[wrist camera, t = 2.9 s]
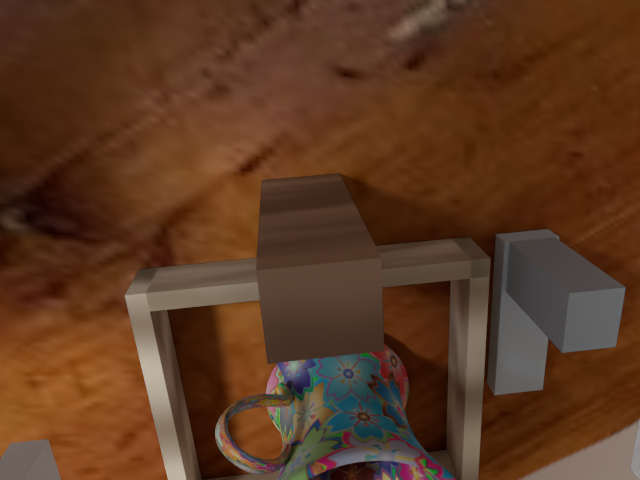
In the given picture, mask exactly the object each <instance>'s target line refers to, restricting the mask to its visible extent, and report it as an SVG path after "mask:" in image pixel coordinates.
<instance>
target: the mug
mask: <svg viewBox="0 0 640 480" xmlns="http://www.w3.org/2000/svg"><path fill="white" fill-rule="evenodd" d="M408 395H409V380H408V375H407V372H406V369H405V367H404V365H403V363H402V361H401V360H400V358H399V357H398V356H397V354H396V353H395V352H394V351H393V350H392V349H391V348H390V347H388V346H387V345H386V344H384V351H379V352H370V353H361V354H352V355H343V356H334V357H325V358H316V359H307V360H298V361H289V362H280V363H277V364H276V366H275V367H274V369H273V371H272V373H271V375H270V378H269V381H268V384H267V389H266V394H259V395H253V396H249V397H246V398H243V399H241V400H239V401H237V402H235V403H234V404H232V405H231V406H230V407H228V408H227V409H226V410H225V412H224V413H223V414H222V416H221V417H220V418H219V420H218V422H217V425H216V429H215V438H216V442H217V445H218V447H219V449H220V451H221V452H222V453H223V455H224V456H225V457H226V458H227V459H228V460H229V461H230V462H231V463H233V464H234V465H235V466H237V467H239V468H240V469H242V470H244V471H247V472H250V473H253V474H260V475H261V474H270V473H274V472H276V471H277V470H279V469H280V468H281V469H280V472H279V476H278V479H277V480H456V478H455V477H454V476H453V475H452V474H451V473H450V472H448V471H447V470H446V469H445V468H444V467H442V466H441V465H440V464H438V463H437V462H436V461H435V460H434V459H433V458H432V457H431V456H430V455H429V454H428V453H427V452H426V451H425V450H424V448H423V447H422V446H421V445H420V443H419V442H418V440H417V439H416V437H415V436H414V434H413V432H412V430H411V428H410V426H409V423H408V420H407V417H406V411H405V407H406V404H407V401H408ZM255 407H267V409H268V412H269V415H270V417H271V419H272V421H273V423H274V425H275V426H276V428H277V429H278V430H279V431H280V433H281V436H282V442H283V449H282V452H281V454H280V456H279V457H278V458H275V459H261V458H257V457H254V456H252V455H250V454H248V453H247V452H245V451H244V450H242V449H241V448H240V447H239V446H238V445H237V444H236V443H235V442H234V441H233V439H232V438H231V436H230V434H229V431H228V421H229V420H230V418H232V417H233V416H234V415H236V414H237V413H239V412H241V411H244V410H247V409H250V408H255Z"/></svg>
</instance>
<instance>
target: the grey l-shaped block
mask: <svg viewBox="0 0 640 480" xmlns="http://www.w3.org/2000/svg"><path fill="white" fill-rule="evenodd" d="M625 289H626V287H624V286H623V285H622V284H620V283H619V282H617V281H616V280H615V279H613V278H612V277H610V276H609V275H608V274H606V273H605V272H603V271H602V270H600V269H599V268H598V267H596V266H595V265H593V264H592V263H591V262H589V261H588V260H586V259H585V258H584V257H582V256H581V255H579V254H578V253H576V252H575V251H574V250H572V249H571V248H569V247H568V246H567V245H565V244H564V243H562V242H561V241H560V240H559V236H558V235H556V234H555V233H553V232H552V231H550V230H549V229H544V230H534V231H523V232H513V233H503V234H496V240H495V257H494V274H493V290H492V307H491V324H490V341H489V358H488V374H487V384H488V385H489V387H490V389H491V390H492V392H493V394H494V395H502V394H510V393H519V392H528V391H536V390H543V383H544V374H545V365H546V356H547V347H548V338H549V339H550V340H551V341H552V343H553V344H554V345H555V346H556V347H557V348H558V349H559V350H560V351H561V352H562V353H567V352H575V351H584V350H593V349H602V348H611V347H616V343H617V337H618V331H619V325H620V319H621V313H622V307H623V301H624V295H625Z"/></svg>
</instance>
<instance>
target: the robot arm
mask: <svg viewBox="0 0 640 480" xmlns="http://www.w3.org/2000/svg"><path fill="white" fill-rule="evenodd" d="M630 468H631V470H632V471H633V473H634V474H635V475H636V476H637V477H638V479H639V480H640V420H639V425H638V430H637V436H636V441H635V446H634V451H633V457H632V462H631V467H630ZM0 480H61V478H60V475H59V472H58V469H57V465H56V462H55V459H54V456H53V453H52V450H51V447H50V444H49V441H48V439H46V440H36V441H27V442H18V443H11V444H10V445H9V447H8V448H7V450H6V451H5V453H4V454H3V456H2V457H1V459H0Z"/></svg>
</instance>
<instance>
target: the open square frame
mask: <svg viewBox="0 0 640 480" xmlns="http://www.w3.org/2000/svg"><path fill="white" fill-rule="evenodd" d="M490 261H491V258H490V257H489V256H488V255H487V254H486V253H485V252H484V251H483V250H482V249H481V248H480V247H479V246H478V245H477V244H476V243H475V242H474V241H473V240H472V239H471V238H470V237H463V238H453V239H443V240H432V241H422V242H412V243H402V244H392V245H382V246H375V244H374V242H373V240H372V238H371V236H370V234H369V232H368V230H367V228H366V226H365V224H364V222H363V220H362V218H361V216H360V214H359V212H358V210H357V208H356V205H355V203H354V201H353V199H352V197H351V195H350V193H349V191H348V189H347V187H346V185H345V183H344V181H343V179H342V177H341V175H340V173H337V174H326V175H315V176H304V177H293V178H282V179H271V180H262V185H261V200H260V216H259V231H258V247H257V258H250V259H240V260H230V261H220V262H210V263H200V264H189V265H179V266H169V267H159V268H149V269H139V271H138V273H137V275H136V276H135V278H134V280H133V282H132V283H131V285H130V287H129V289H128V291H127V292H126V294H125V299H126V303H127V307H128V312H129V316H130V320H131V324H132V329H133V333H134V337H135V341H136V346H137V350H138V354H139V358H140V363H141V367H142V371H143V375H144V380H145V384H146V388H147V392H148V397H149V401H150V405H151V409H152V414H153V418H154V422H155V426H156V431H157V435H158V439H159V443H160V448H161V452H162V456H163V460H164V465H165V469H166V473H167V477H168V480H202V479H201V474H200V470H199V465H198V460H197V455H196V450H195V445H194V440H193V435H192V430H191V425H190V420H189V416H188V411H187V406H186V401H185V396H184V391H183V386H182V381H181V376H180V371H179V367H178V362H177V357H176V352H175V347H174V342H173V337H172V332H171V327H170V322H169V317H168V313H167V310H170V309H179V308H189V307H199V306H208V305H218V304H228V303H237V302H247V301H257V300H260V306H261V314H262V322H263V330H264V337H265V345H266V353H267V361H268V364H271V363H280V362H289V361H298V360H307V359H316V358H325V357H334V356H343V355H352V354H361V353H370V352H379V351H384V325H383V290H382V287H392V286H402V285H411V284H421V283H431V282H441V281H450V280H451V283H450V322H449V360H448V399H447V438H446V450H441V451H433V452H427V453H428V454H429V455H430V456H431V457H432V458H433V459H434V460H435V461H436V462H437V463H438V464H440V465H441V466H442V467H444V468H445V469H446V470H447V471H448V472H450V473H451V474H452V475H453V476H454V477H455V478H456V480H478V473H479V455H480V438H481V420H482V402H483V385H484V367H485V349H486V332H487V314H488V296H489V279H490ZM279 472H280V470H277V471H276V472H274V473H270V474H261V475H260V474H244V475H236V476H228V477H220V478H211V479H203V480H277V479H278V476H279Z"/></svg>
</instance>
